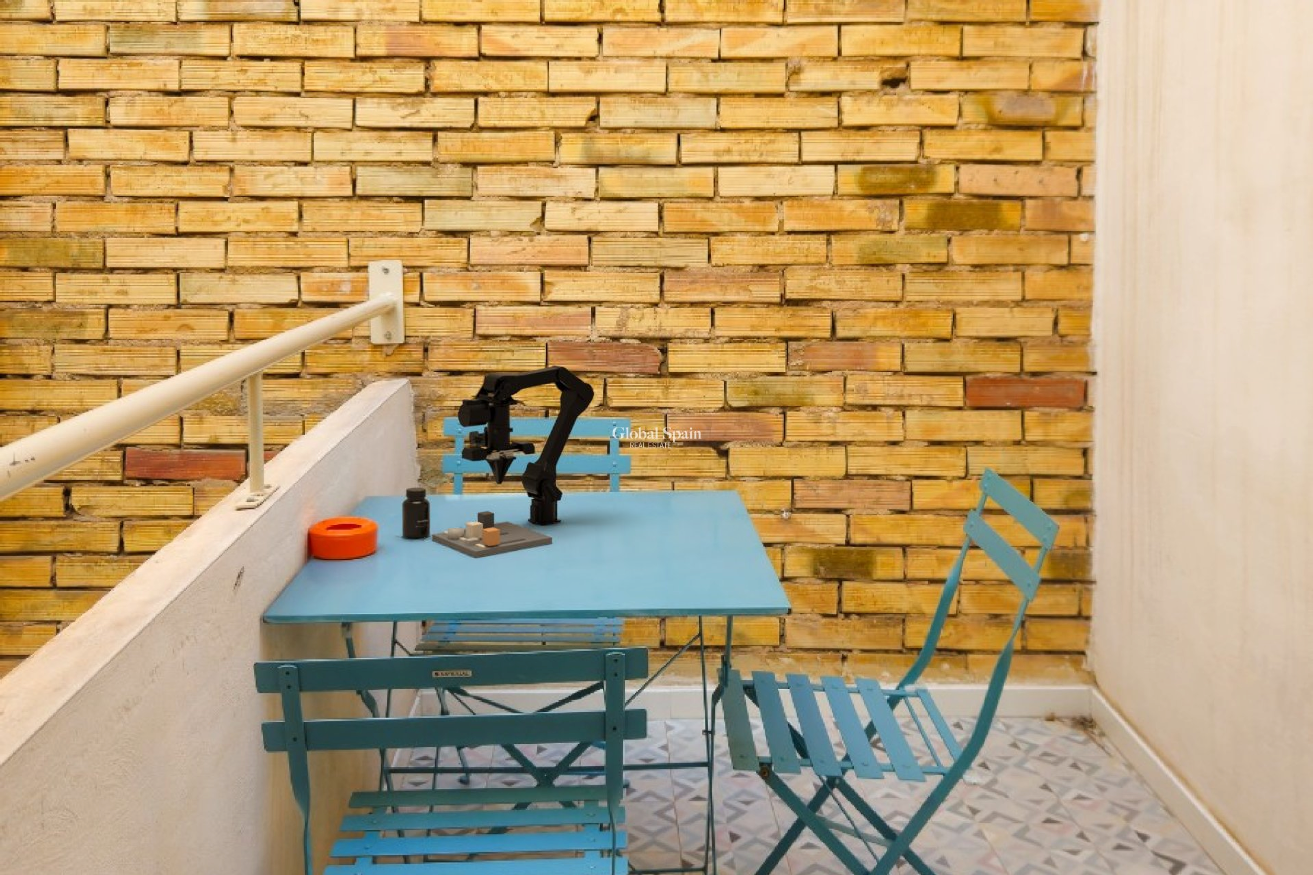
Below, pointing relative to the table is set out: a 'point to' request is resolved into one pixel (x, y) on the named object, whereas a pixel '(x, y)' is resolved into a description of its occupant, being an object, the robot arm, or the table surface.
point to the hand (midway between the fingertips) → (499, 483)
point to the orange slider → (490, 536)
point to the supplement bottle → (416, 514)
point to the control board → (509, 541)
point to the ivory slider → (474, 530)
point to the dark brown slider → (486, 519)
